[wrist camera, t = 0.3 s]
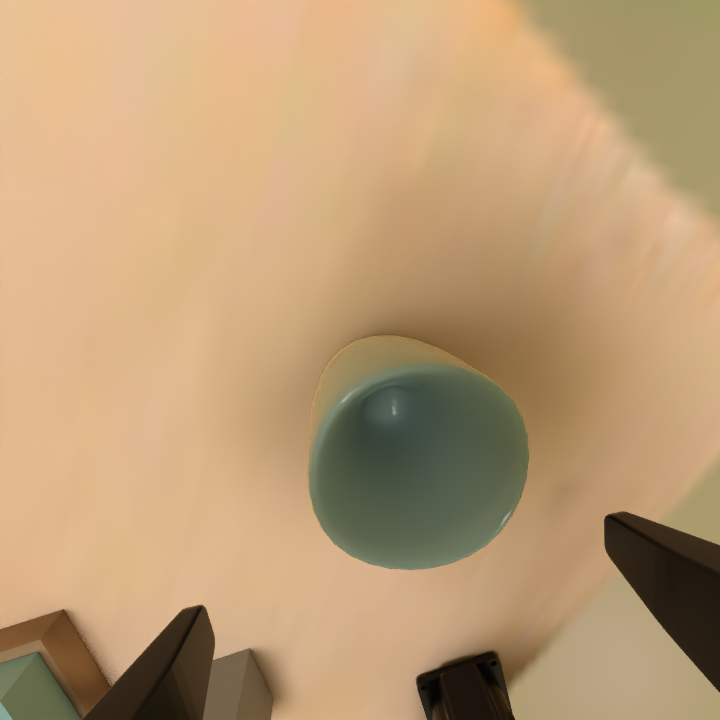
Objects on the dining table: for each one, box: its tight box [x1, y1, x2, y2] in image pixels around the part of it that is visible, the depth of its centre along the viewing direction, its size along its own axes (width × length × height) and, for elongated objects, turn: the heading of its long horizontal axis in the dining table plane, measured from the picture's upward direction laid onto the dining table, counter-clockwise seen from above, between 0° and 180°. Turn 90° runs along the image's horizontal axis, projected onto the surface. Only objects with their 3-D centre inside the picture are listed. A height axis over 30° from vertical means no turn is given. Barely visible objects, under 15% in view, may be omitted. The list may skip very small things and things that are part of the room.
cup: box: [307, 335, 529, 570], centre depth 17 cm, size 8×8×10 cm
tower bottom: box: [0, 609, 111, 719], centre depth 23 cm, size 10×10×2 cm
